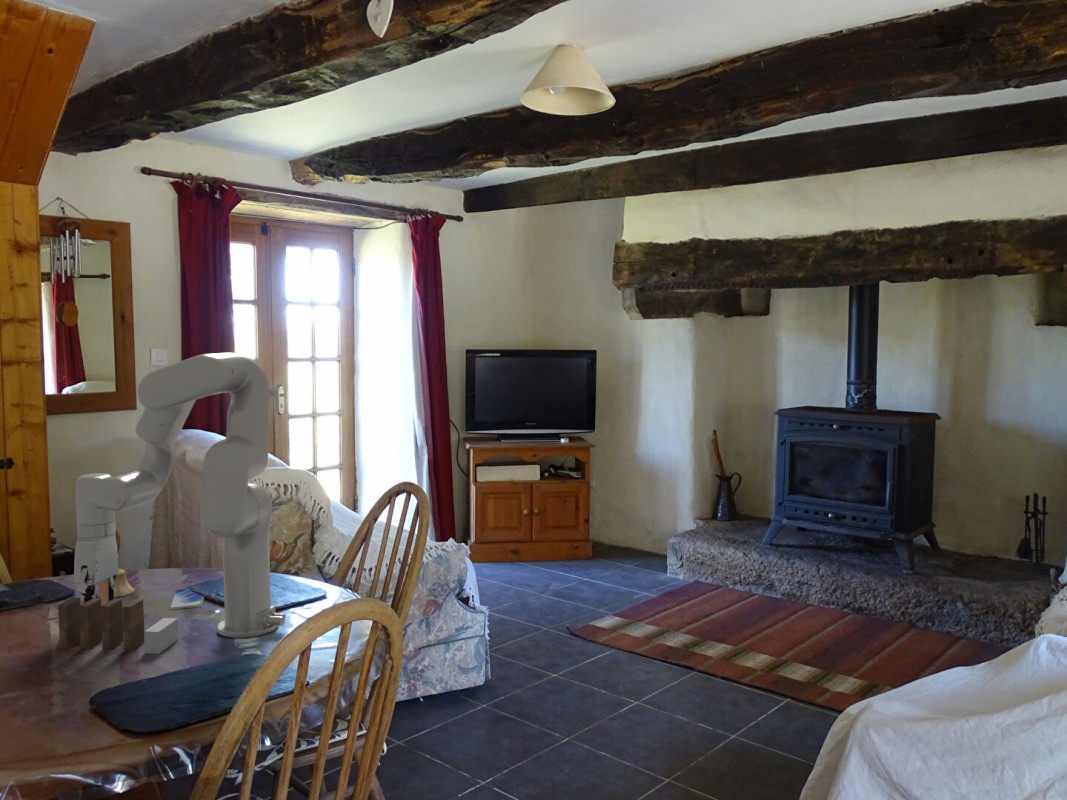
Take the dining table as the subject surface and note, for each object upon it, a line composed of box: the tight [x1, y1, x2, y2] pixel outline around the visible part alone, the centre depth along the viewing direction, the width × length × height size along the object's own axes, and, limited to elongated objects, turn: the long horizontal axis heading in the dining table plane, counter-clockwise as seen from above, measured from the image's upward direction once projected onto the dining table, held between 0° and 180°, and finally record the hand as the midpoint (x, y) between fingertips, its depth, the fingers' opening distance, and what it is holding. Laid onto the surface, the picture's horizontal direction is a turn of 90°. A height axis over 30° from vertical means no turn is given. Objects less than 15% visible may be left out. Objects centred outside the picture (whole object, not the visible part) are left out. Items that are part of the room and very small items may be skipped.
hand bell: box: [112, 528, 135, 599], centre depth 209 cm, size 8×8×16 cm
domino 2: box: [88, 579, 109, 606], centre depth 189 cm, size 2×5×9 cm, turn 177°
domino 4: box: [101, 597, 124, 651], centre depth 175 cm, size 2×5×9 cm, turn 177°
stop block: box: [143, 617, 179, 655], centre depth 174 cm, size 3×8×4 cm, turn 177°
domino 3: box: [80, 598, 102, 650], centre depth 175 cm, size 2×5×9 cm, turn 177°
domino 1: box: [57, 597, 82, 650], centre depth 175 cm, size 2×5×9 cm, turn 177°
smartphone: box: [168, 587, 205, 611], centre depth 206 cm, size 7×1×15 cm
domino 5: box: [122, 598, 145, 651], centre depth 175 cm, size 2×5×9 cm, turn 177°
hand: (99, 609), depth 189 cm, fingers closed on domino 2, 4 cm apart
